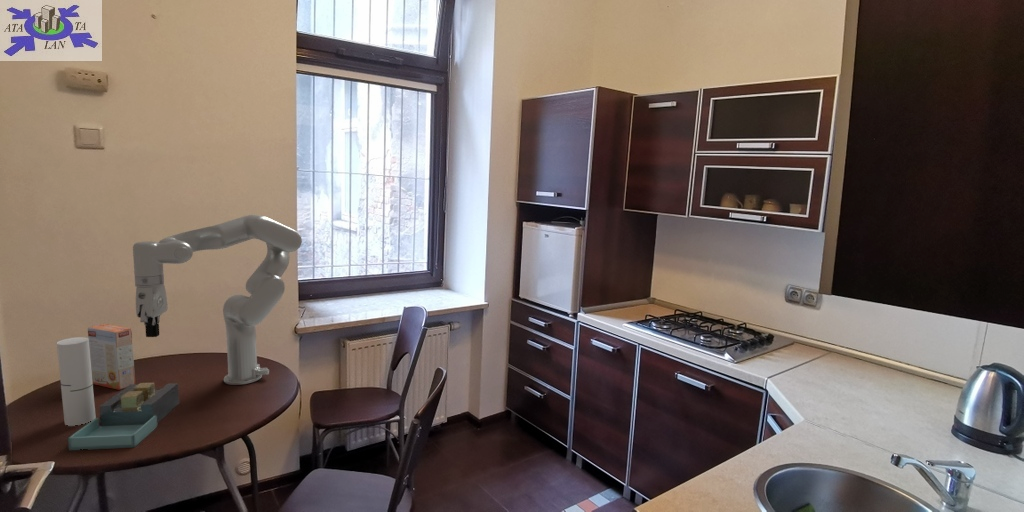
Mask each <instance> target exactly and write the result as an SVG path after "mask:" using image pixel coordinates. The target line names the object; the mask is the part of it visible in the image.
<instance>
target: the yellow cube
mask: <svg viewBox="0 0 1024 512" xmlns="http://www.w3.org/2000/svg"><path fill="white" fill-rule="evenodd" d="M143 403H144V396H143V391H128V392H127V393H126V394H124V395H123V396H121V406H122V410H128V409H138V408H139V407H140V406H141V404H143Z"/></svg>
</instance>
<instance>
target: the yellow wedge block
mask: <svg viewBox="0 0 1024 512" xmlns="http://www.w3.org/2000/svg"><path fill="white" fill-rule="evenodd" d="M155 390H156V387H155V382H140V383H138V385H137V386H135V387H134V388H133V391H143V396H144V400H148V399H149V398H150V397H151V396H153V395H154V394H155Z"/></svg>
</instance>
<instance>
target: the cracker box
mask: <svg viewBox="0 0 1024 512" xmlns="http://www.w3.org/2000/svg"><path fill="white" fill-rule="evenodd" d="M132 331H133V330H132V328H130V327H125V326H120V325H113V324H109V323H108V324H107V323H102V324H97V325H94V326H89V327H87V338H88V339H89V349H90V360H91V371H92V383H93V385H96V386H101V387H104V388H105V387H106V388H109V389H113V390H118V391H121V390H123V389H125V388H126V387H128V386H129V385H131V384H136V376H135V361H134V349H133V348H134V347H133V334H132Z"/></svg>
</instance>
